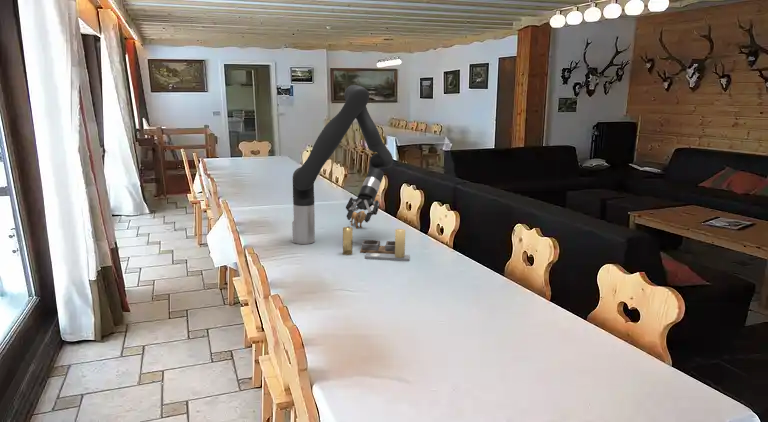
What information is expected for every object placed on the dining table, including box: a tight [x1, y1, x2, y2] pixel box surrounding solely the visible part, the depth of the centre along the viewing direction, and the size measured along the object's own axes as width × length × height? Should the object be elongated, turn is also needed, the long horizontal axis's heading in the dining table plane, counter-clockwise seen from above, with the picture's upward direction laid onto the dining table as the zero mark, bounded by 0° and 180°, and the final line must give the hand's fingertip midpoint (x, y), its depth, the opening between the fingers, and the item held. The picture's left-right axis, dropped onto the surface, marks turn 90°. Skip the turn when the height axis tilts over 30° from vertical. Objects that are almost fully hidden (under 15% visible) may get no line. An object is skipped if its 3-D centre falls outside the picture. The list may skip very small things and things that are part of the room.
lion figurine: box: [349, 210, 367, 229], centre depth 254 cm, size 15×5×9 cm, turn 34°
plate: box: [364, 228, 411, 262], centre depth 205 cm, size 18×5×12 cm, turn 84°
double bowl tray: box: [359, 239, 395, 254], centre depth 215 cm, size 18×8×4 cm, turn 84°
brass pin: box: [342, 226, 354, 256], centre depth 210 cm, size 4×4×11 cm
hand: (357, 220), depth 215 cm, fingers open, 8 cm apart
